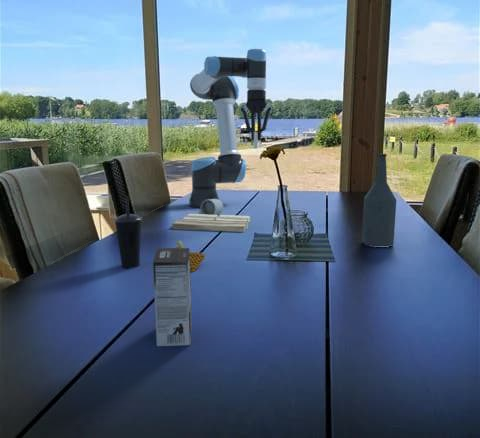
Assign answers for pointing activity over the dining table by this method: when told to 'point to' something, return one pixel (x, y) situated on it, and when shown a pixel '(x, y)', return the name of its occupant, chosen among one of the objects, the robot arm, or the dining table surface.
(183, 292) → the coffee box
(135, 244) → the drinking cup
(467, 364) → the dining table surface
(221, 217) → the plank
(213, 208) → the ceramic mug
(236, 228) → the laid board
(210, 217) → the plank
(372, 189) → the bottle
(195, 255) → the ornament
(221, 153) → the robot arm
